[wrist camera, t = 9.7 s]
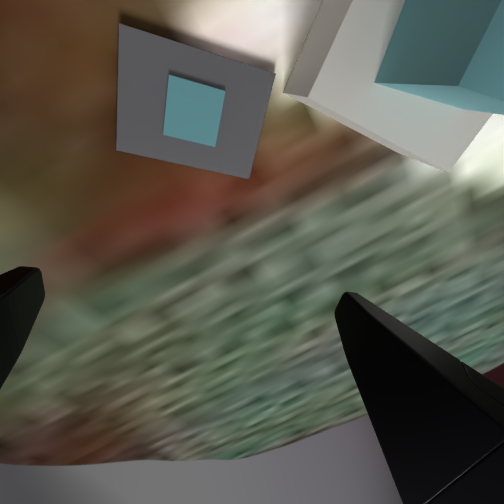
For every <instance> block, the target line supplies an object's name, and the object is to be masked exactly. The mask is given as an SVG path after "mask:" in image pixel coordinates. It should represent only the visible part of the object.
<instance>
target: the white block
mask: <svg viewBox="0 0 504 504" xmlns="http://www.w3.org/2000/svg"><path fill="white" fill-rule="evenodd" d="M404 3H405V0H322V3H321V5H320V7H319V10H318V12H317V14H316V17H315V19H314V21H313V24H312V26H311V28H310V31H309V33H308V36H307V38H306V40H305V43H304V45H303V47H302V50H301V52H300V54H299V57H298V59H297V61H296V64H295V66H294V68H293V71H292V73H291V76H290V78H289V80H288V83H287V85H286V87H285V90H284V92H283V93H285V94H287V95H288V96H290V97H292V98H294V99H296V100H298V101H300V102H302V103H304V104H306V105H308V106H309V107H311V108H313V109H315V110H317V111H319V112H321V113H323V114H325V115H327V116H329V117H330V118H332V119H334V120H336V121H338V122H340V123H342V124H344V125H346V126H348V127H350V128H352V129H353V130H355V131H357V132H359V133H361V134H363V135H365V136H367V137H369V138H371V139H373V140H374V141H376V142H378V143H380V144H382V145H384V146H386V147H388V148H390V149H392V150H394V151H395V152H397V153H400V154H402V155H405V156H407V157H410V158H412V159H415V160H418V161H420V162H423V163H425V164H428V165H430V166H433V167H435V168H438V169H441V170H443V171H446V172H449V171H450V170H451V168H452V167H453V166H454V164H455V163H456V162H457V160H458V159H459V158H460V156H461V155H462V154H463V152H464V151H465V150H466V148H467V147H468V146H469V144H470V143H471V142H472V140H473V139H474V138H475V136H476V135H477V134H478V132H479V131H480V130H481V129H482V127H483V126H484V125H485V123H486V122H487V121H488V119H489V118H490V117H491V115H492V114H493V113H487V112H479V111H471V110H464V109H460V108H457V107H454V106H450V105H447V104H443V103H440V102H437V101H433V100H430V99H427V98H423V97H420V96H416V95H413V94H410V93H406V92H403V91H400V90H396V89H393V88H389V87H386V86H383V85H379V84H376V83H374V82H375V79H376V77H377V74H378V71H379V69H380V66H381V63H382V61H383V58H384V56H385V53H386V50H387V48H388V45H389V42H390V40H391V37H392V34H393V32H394V29H395V26H396V24H397V21H398V18H399V16H400V13H401V11H402V8H403V5H404Z"/></svg>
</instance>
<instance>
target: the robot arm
mask: <svg viewBox="0 0 504 504" xmlns="http://www.w3.org/2000/svg"><path fill="white" fill-rule="evenodd" d="M44 298H45V290H44V284H43V279H42V273H41V271H40V269H38V268H36V267H24V266H21V267H17V268H15V269H13V270H10V271H8V272H6V273H3V274H1V275H0V389H1V387H2V385H3V384H4V382H5V380H6V378H7V377H8V375H9V373H10V372H11V370H12V368H13V366H14V365H15V363H16V361H17V359H18V357H19V356H20V354H21V352H22V350H23V348H24V345H25V343H26V341H27V339H28V336H29V334H30V332H31V329H32V327H33V325H34V322H35V320H36V318H37V315H38V313H39V311H40V308H41V306H42V304H43V301H44ZM335 319H336V323H337V327H338V330H339V334H340V337H341V341H342V345H343V348H344V352H345V355H346V358H347V361H348V364H349V366H350V369H351V371H352V374H353V376H354V379H355V382H356V384H357V387H358V389H359V392H360V394H361V397H362V400H363V402H364V405H365V407H366V410H367V412H368V415H369V418H370V420H371V423H372V425H373V428H374V430H375V433H376V436H377V438H378V441H379V443H380V446H381V448H382V451H383V454H384V456H385V459H386V461H387V464H388V466H389V469H390V471H391V474H392V477H393V479H394V482H395V484H396V487H397V490H398V492H399V495H400V497H401V500H402V502H403V504H504V388H503V387H501V386H499V385H498V384H496V383H495V382H493V381H491V380H490V379H488V378H487V377H485V376H484V375H482V374H480V373H479V372H477V371H476V370H474V369H473V368H471V367H470V366H468V365H467V364H465V363H464V362H460V360H459V359H457V358H456V357H454V356H453V355H451V354H450V353H448V352H447V351H445V350H443V349H442V348H440V347H439V346H437V345H436V344H434V343H433V342H431V341H430V340H428V339H427V338H425V337H424V336H422V335H420V334H419V333H417V332H416V331H414V330H413V329H411V328H410V327H408V326H407V325H405V324H404V323H402V322H401V321H399V320H398V319H396V318H394V317H393V316H391V315H390V314H388V313H387V312H385V311H384V310H382V309H381V308H379V307H378V306H376V305H375V304H373V303H371V302H370V301H368V300H367V299H365V298H364V297H362V296H361V295H359V294H358V293H354V292H345V293H344V294H343V295H342V297H341V299H340V301H339V303H338V305H337V307H336V309H335Z"/></svg>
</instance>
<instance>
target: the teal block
mask: <svg viewBox="0 0 504 504" xmlns="http://www.w3.org/2000/svg"><path fill="white" fill-rule="evenodd" d="M374 83H376V84H379V85H383V86H386V87H389V88H393V89H396V90H400V91H403V92H406V93H410V94H413V95H416V96H420V97H423V98H427V99H430V100H433V101H437V102H440V103H443V104H447V105H450V106H454V107H457V108H460V109H464V110H471V111H479V112H487V113H495V114H503V115H504V0H405V3H404V5H403V8H402V11H401V13H400V16H399V18H398V21H397V24H396V26H395V29H394V32H393V34H392V37H391V40H390V42H389V45H388V48H387V50H386V53H385V56H384V58H383V61H382V63H381V66H380V69H379V71H378V74H377V77H376V79H375V82H374Z"/></svg>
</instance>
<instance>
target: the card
mask: <svg viewBox="0 0 504 504" xmlns="http://www.w3.org/2000/svg"><path fill="white" fill-rule="evenodd" d="M275 75H276V74H275V73H272V72H269V71H266V70H263V69H260V68H257V67H254V66H251V65H247V64H244V63H241V62H238V61H235V60H232V59H229V58H226V57H223V56H219V55H216V54H213V53H210V52H207V51H204V50H201V49H198V48H194V47H191V46H188V45H185V44H182V43H179V42H176V41H173V40H170V39H166V38H163V37H160V36H157V35H154V34H151V33H148V32H145V31H142V30H138V29H135V28H132V27H129V26H126V25H123V24H120V23H119V52H118V99H117V146H116V150H118V151H122V152H127V153H131V154H136V155H141V156H145V157H150V158H154V159H159V160H164V161H168V162H173V163H177V164H182V165H186V166H191V167H196V168H200V169H205V170H209V171H214V172H219V173H223V174H228V175H232V176H237V177H241V178H246V179H249V176H250V173H251V169H252V165H253V161H254V157H255V153H256V149H257V145H258V141H259V137H260V133H261V129H262V126H263V122H264V118H265V114H266V110H267V106H268V102H269V98H270V94H271V90H272V86H273V82H274V78H275Z"/></svg>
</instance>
